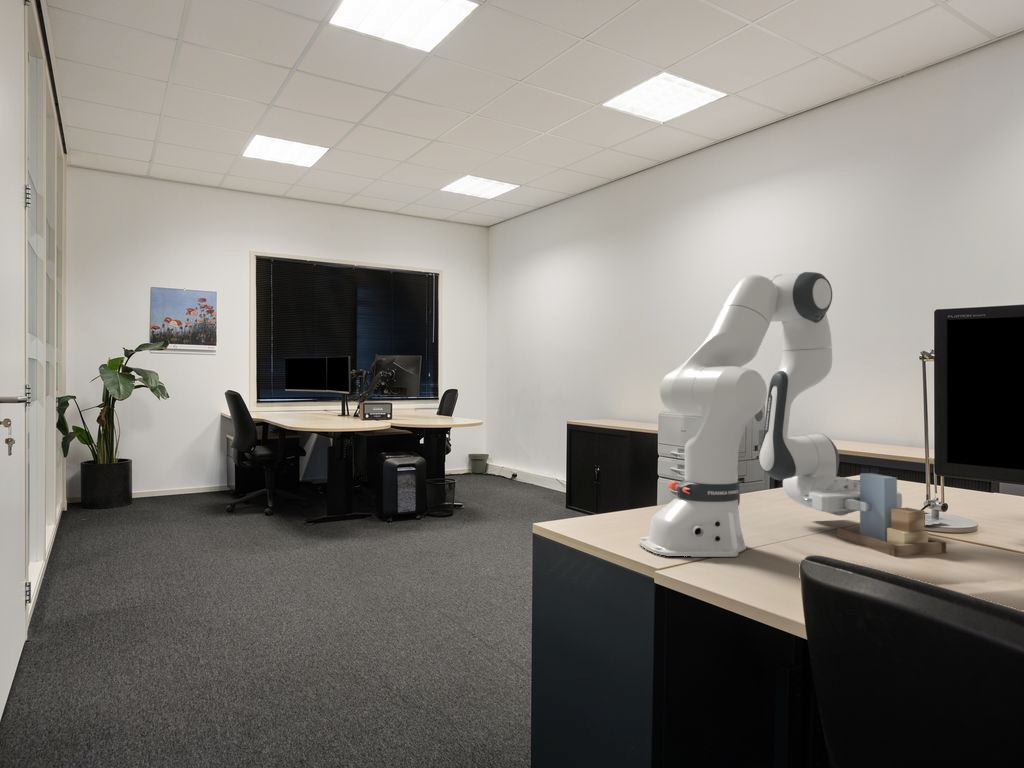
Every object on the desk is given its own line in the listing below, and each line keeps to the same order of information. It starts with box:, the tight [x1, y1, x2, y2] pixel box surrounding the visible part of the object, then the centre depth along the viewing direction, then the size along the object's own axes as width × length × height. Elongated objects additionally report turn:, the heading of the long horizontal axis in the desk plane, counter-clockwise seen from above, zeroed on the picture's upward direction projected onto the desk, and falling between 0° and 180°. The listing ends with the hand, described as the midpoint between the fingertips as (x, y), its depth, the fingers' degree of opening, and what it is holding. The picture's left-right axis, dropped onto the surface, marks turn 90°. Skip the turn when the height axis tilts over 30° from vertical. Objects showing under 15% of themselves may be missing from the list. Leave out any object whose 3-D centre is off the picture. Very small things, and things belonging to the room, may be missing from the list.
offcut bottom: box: [887, 528, 929, 544], centre depth 130 cm, size 6×4×4 cm
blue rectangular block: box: [859, 472, 898, 542], centre depth 137 cm, size 3×7×14 cm, turn 11°
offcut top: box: [891, 507, 926, 533], centre depth 130 cm, size 4×4×4 cm
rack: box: [836, 527, 947, 557], centre depth 134 cm, size 12×16×4 cm
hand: (881, 506), depth 136 cm, fingers open, 5 cm apart
